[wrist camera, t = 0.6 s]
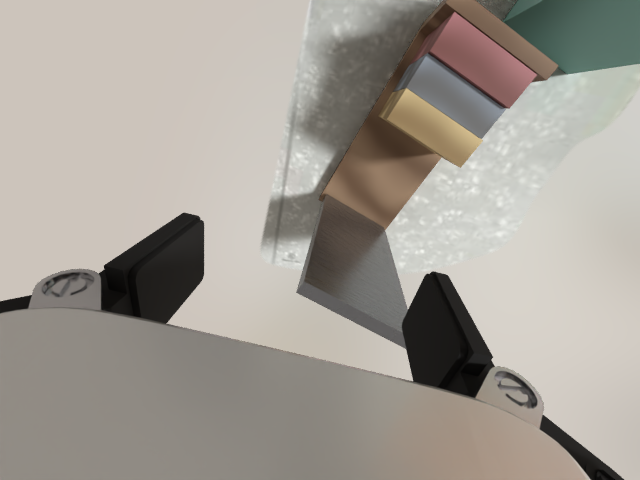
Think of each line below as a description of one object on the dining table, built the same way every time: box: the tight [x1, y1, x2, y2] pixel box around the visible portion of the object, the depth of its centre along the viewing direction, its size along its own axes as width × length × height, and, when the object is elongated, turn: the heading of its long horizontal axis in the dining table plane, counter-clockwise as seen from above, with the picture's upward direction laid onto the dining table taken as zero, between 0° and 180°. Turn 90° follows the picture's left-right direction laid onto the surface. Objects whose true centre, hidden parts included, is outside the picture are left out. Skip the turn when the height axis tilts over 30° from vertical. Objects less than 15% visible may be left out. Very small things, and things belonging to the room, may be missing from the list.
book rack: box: [319, 0, 559, 230], centre depth 32 cm, size 24×11×10 cm, turn 150°
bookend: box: [297, 194, 408, 349], centre depth 30 cm, size 1×10×22 cm, turn 60°
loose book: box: [503, 0, 640, 74], centre depth 23 cm, size 4×10×14 cm, turn 60°
